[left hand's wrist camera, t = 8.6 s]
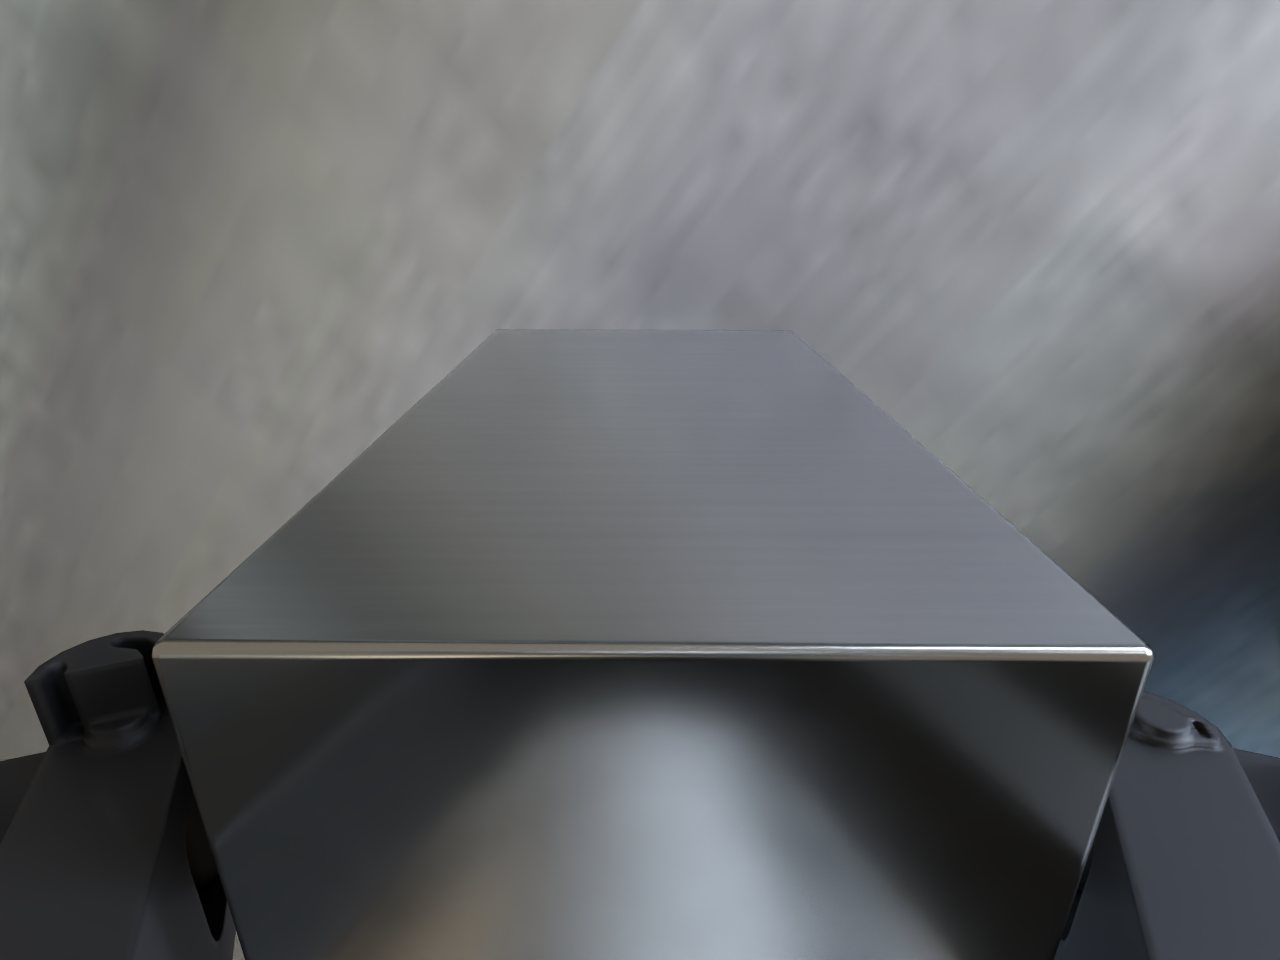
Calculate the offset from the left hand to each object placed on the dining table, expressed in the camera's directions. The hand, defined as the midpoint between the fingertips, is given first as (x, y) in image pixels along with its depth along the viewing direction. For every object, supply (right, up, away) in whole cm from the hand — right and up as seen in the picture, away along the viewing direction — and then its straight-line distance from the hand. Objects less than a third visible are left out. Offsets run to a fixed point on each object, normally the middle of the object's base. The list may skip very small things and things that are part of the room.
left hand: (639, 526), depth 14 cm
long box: (0, -7, +6) cm, 9 cm away
